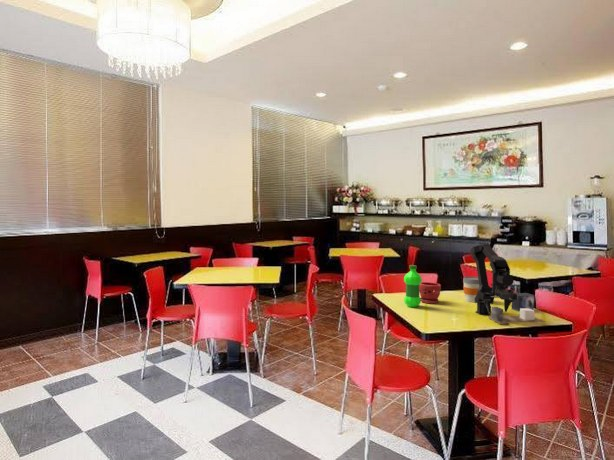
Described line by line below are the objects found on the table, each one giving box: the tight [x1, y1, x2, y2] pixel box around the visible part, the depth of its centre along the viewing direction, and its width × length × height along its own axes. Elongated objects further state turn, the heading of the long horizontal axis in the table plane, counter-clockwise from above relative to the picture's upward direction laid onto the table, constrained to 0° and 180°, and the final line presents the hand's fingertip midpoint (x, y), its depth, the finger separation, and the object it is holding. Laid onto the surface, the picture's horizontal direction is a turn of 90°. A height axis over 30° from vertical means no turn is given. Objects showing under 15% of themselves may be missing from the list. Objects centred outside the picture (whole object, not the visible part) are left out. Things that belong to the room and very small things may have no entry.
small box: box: [511, 292, 535, 313], centre depth 236 cm, size 11×6×10 cm, turn 105°
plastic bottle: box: [403, 264, 423, 308], centre depth 247 cm, size 10×10×25 cm
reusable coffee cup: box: [462, 276, 479, 304], centre depth 262 cm, size 13×13×15 cm
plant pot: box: [419, 281, 442, 304], centre depth 259 cm, size 13×13×12 cm
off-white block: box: [519, 308, 535, 320], centre depth 216 cm, size 5×5×5 cm
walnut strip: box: [487, 306, 545, 325], centre depth 216 cm, size 24×12×7 cm, turn 94°
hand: (497, 311), depth 215 cm, fingers open, 9 cm apart
